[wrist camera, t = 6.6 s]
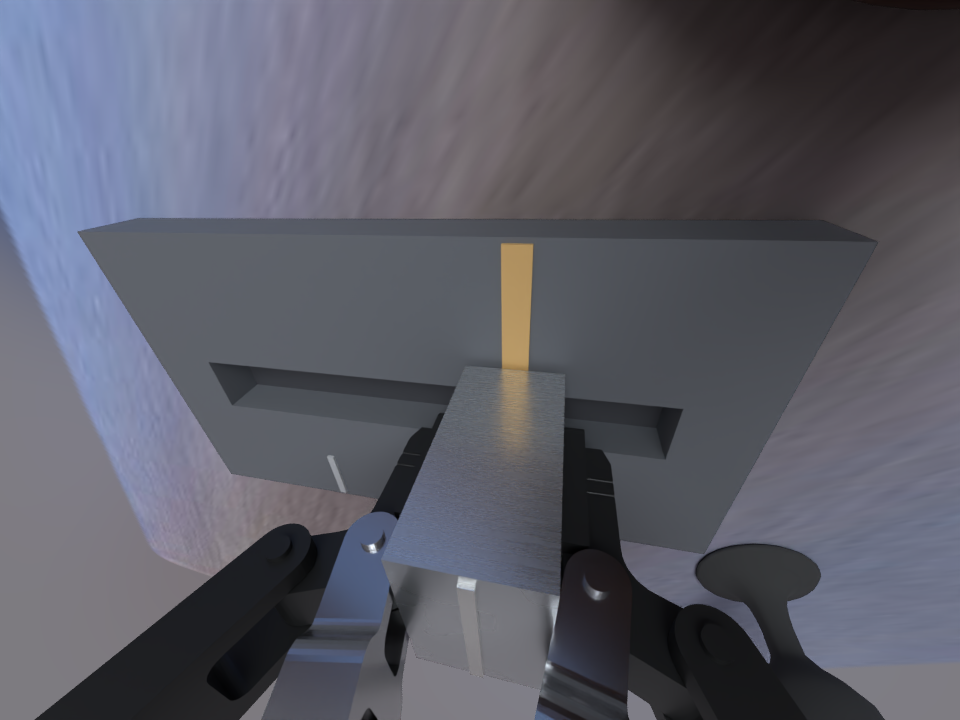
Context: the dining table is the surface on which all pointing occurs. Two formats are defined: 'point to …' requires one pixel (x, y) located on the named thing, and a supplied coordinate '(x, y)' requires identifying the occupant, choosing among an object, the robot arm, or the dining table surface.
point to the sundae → (783, 623)
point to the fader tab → (486, 529)
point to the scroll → (916, 4)
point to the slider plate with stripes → (489, 339)
